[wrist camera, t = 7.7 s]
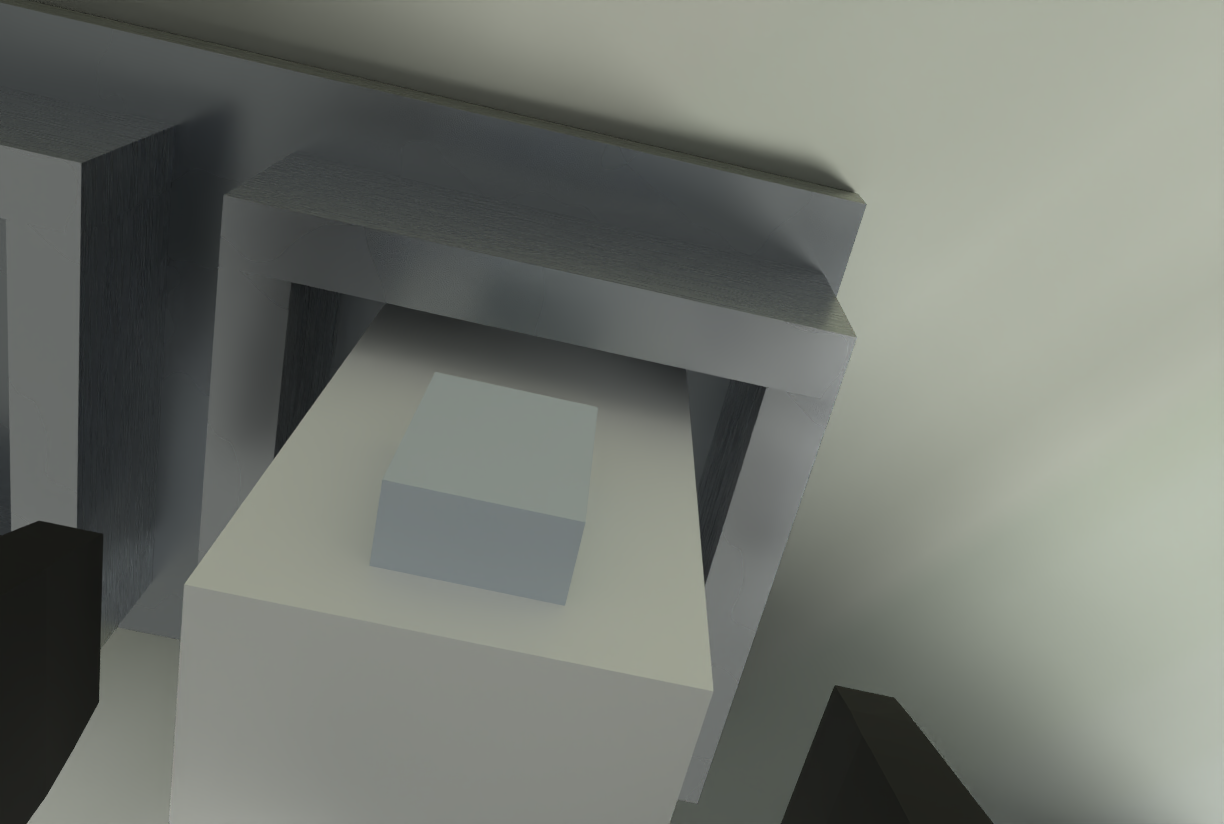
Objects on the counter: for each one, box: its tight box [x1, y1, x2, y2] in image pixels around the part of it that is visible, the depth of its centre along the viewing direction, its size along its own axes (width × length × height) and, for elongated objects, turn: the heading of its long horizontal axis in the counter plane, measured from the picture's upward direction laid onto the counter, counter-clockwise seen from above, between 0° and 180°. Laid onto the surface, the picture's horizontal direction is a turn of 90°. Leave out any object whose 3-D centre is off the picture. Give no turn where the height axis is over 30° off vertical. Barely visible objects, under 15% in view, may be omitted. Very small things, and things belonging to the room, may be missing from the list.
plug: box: [169, 303, 713, 824], centre depth 12 cm, size 5×4×7 cm
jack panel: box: [0, 0, 867, 804], centre depth 14 cm, size 9×16×3 cm, turn 78°
